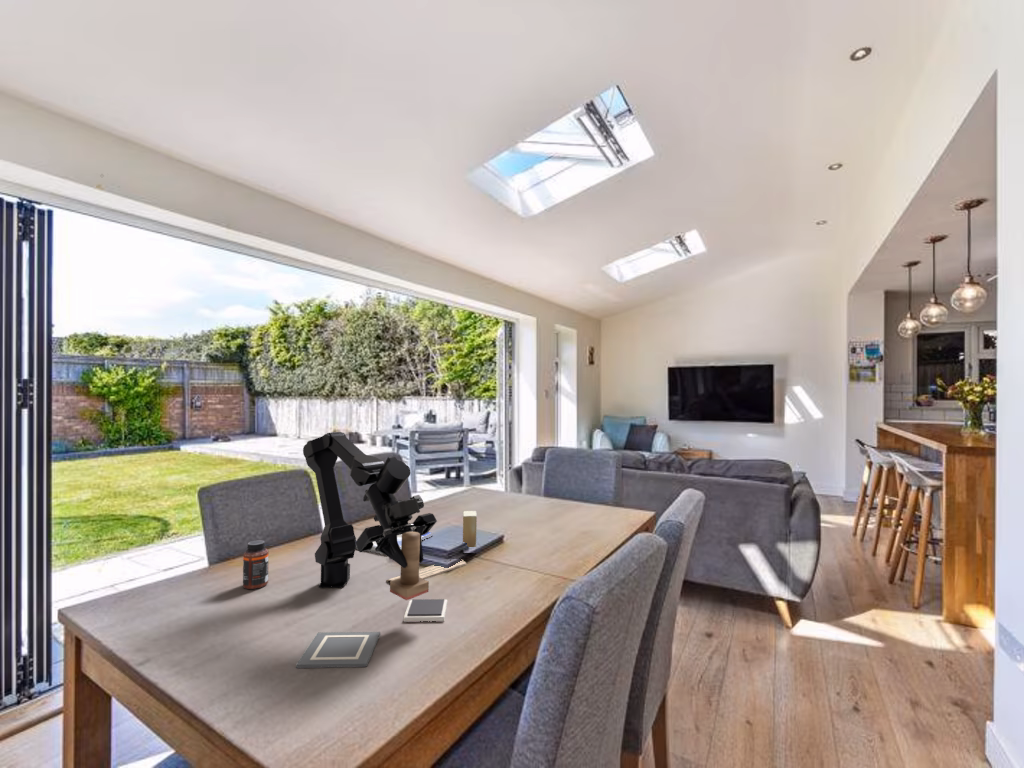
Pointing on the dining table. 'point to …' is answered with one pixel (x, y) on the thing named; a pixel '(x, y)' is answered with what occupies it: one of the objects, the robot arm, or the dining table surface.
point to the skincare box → (469, 528)
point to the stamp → (410, 570)
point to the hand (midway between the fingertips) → (414, 564)
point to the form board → (339, 650)
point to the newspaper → (434, 570)
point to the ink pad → (426, 610)
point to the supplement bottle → (255, 565)
